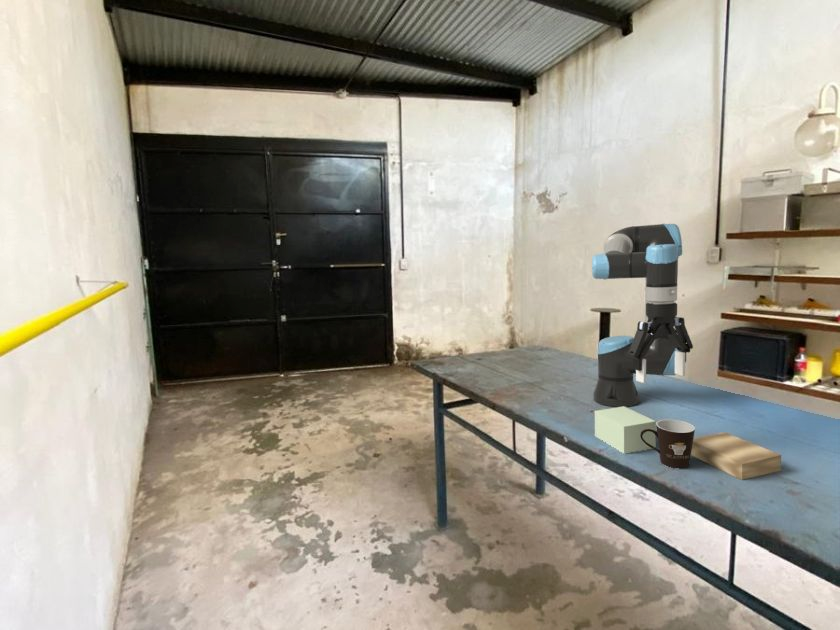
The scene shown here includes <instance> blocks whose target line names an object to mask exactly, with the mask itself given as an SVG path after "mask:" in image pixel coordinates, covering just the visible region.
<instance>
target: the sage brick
mask: <svg viewBox="0 0 840 630" xmlns="http://www.w3.org/2000/svg"><path fill="white" fill-rule="evenodd" d="M656 423H657V421H656V420H654V419H652V418H650V417H648V416H645V415H643V414H641V413H640V412H637V411H635V410H633V409H631V408H629V407H624V406H623V407H612V408H611V407H610V408H606V409H605V408H604V409H598V410H594V437H595V438H597V439H599V440H601V441H602V440H603V441H602V442H604V443H605V442H606V443H605V444H607V445H608V446H610V445H611V446H610V447H612V448H613V447H614V448H613V449H615V448H616V449H615V450H616V451H618V450H619V451H618V452H620V453H621V452H622V454H623V453H624V454H623V455H626V454H625V453H628V454H631V452H633V453H637V452H636V451H638V452H643V451H642V450H644V451H648V450H647V449H649V450H653V449H652V448H651V447H649V446H648V445H646V444H645V443H644V442H643V441H642V439H641V437H640V435H641V432H642V431H643V430H645V429H652V430H654V431H657V428H656ZM656 438H657V437H656V435H655V434H654V433H653V432H650V431H647V432H645V433H644V434H643V439H644V440H645V441H646V442H647V443H648V444H650V445H652V446H653V447H655V448H656V443H657V441H656Z"/></svg>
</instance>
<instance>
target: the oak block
mask: <svg viewBox="0 0 840 630" xmlns="http://www.w3.org/2000/svg"><path fill="white" fill-rule="evenodd" d="M692 456H693V457H694V458H696V459H698V460H701V461H702V462H705V463H706V464H708V465H711V466H712V467H715V468H717V469H718V470H720V471H723V472H724V473H727V474H729V475H731V476H733V477H735V478H737V479H739V480H741V481H743V480H748V479H753V478H756V477H760V476H764V475H768V474H773V473H776V472H781V471H782V454H780V453H777V452H775V451H772V450H770V449H768V448H766V447H763V446H760V445H757V444H755V443H752V442H750V441H748V440H745V439H742V438H740V437H739V436H738V437H737V436H735V435H733V434H730V433H727V432H725V431H723V432H718V433H714V434H710V435H708V434H707V435H704V436H699V437H694V438H693V444H692V450H691V457H692Z"/></svg>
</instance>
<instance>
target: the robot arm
mask: <svg viewBox="0 0 840 630" xmlns="http://www.w3.org/2000/svg"><path fill="white" fill-rule="evenodd" d="M682 242H683V240H682V235H681V230H680V227H679V226H678V224H675V223H661V224H659V223H658V224H648V225H647V224H645V225H634V226H628V227H624V228H621V229H619V230H617V231H615V232H613V233H611V234H610V235H609V236H608V237H607V238H606V239H605V242H604V244H603V250H604V252H603V253H600V254H598V253H597V254H594V255H593V256H592V259H591V260H592V261H591V272H592V277H593V279H596V280H612V279H613V280H615V279H617V280H619V279H645V302H644V303H645V306H644V307H645V311H644V313H645V314H644V319H645V321H638V322H637V329H636V332H635V334H634V336H631V335H615V336H610V337H605V338H603V339H601V340H599V342H598V347H597V348H598V349H597V357H598V360H597V361H598V362H597V364H598V366H597V371H598V372H597V374H598V375H597V376H598V377H597V382H596V384H595V389H594V391H593V393H592V394H593V397H592V399H593V401H594V402H596V403H597V404H599V405H603V406H607V407H612V408H617V407H623V406H624V407H626V408H629V407H633V406H636V405H638V404H639V402H640V395H639V393H638V389H637V387H636V384H635V381H636V382H639V383H643V384H646V383H647V375H651V376H662V377H664V376H676V375H678V376H681V377H683V376H685V375H686V362H687V353H688V354H689V353H690V352H691V350H693V348H694V345H693V343H692V339H691V337H690V335H689V332H688V331H687V328H686V325H685V317H681V316H678V303H676V301H677V300H678V275H679V271H678V270H679V258H680V257H682V255H683V243H682ZM634 374H635V381H634Z"/></svg>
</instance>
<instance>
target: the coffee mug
mask: <svg viewBox="0 0 840 630" xmlns="http://www.w3.org/2000/svg"><path fill="white" fill-rule="evenodd" d="M695 430H696V427H695V426H694V425H693V424H692V423H689V422H686V421H684V420H678V419H661V420H658V421H656V431H654V430H652V429H645V430H643V431H642V432H641V435H640V437H641V439H642V441H643V442H644V443H645V444H646V445H648V446H649V447H651V448H652V449H651V450H654V451H656V452H657V453H658V454H659V460H660V463H661V464H662V465H663V464H664V465H663V466H665V465H666V466H665V467H667V466H668V468H670V467H671V468H672V469H675V468H679V469H678V470H684V469H683V468H685V469H688V468H689V466H690V461H691V457H692V455H691V450H692V444H693V438H695ZM647 431H650V432H653V433H654V434H655V435H656V438H657V443H658V448H656V446H655V447H653V446H652V445H650V444H648V443H647V442H646V441H645V440H644V439H643V434H644V433H645V432H647Z"/></svg>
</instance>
